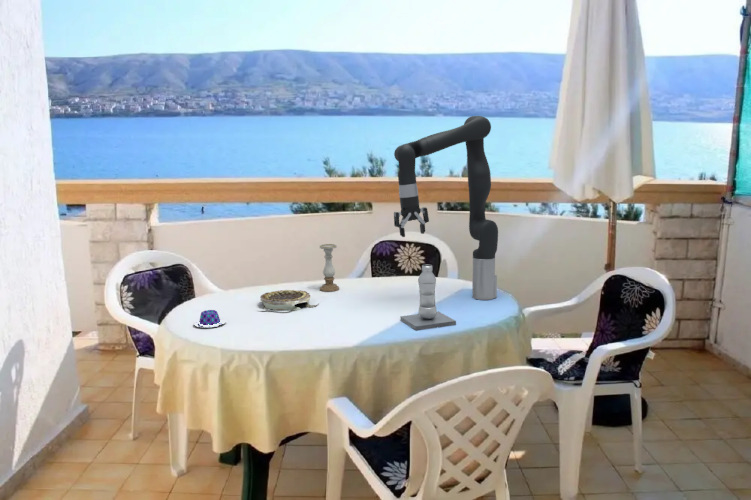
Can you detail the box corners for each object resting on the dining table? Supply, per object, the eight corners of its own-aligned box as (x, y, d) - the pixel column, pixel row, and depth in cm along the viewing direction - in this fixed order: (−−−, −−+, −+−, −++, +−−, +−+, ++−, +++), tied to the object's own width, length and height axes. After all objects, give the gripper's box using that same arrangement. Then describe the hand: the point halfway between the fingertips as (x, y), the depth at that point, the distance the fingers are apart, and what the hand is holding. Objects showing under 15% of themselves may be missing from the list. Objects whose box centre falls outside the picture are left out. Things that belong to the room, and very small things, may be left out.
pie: (239, 310, 263) (238, 298, 262) (274, 295, 288) (273, 284, 287) (300, 316, 252) (299, 304, 251) (330, 300, 277) (330, 289, 276)
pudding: (188, 324, 244) (187, 311, 243) (217, 318, 251) (217, 305, 250) (201, 332, 234) (200, 318, 234) (231, 325, 242) (230, 311, 241)
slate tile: (438, 315, 249) (438, 311, 248) (456, 324, 236) (456, 320, 235) (400, 320, 243) (400, 316, 243) (415, 330, 230) (415, 326, 230)
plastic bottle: (435, 321, 236) (435, 267, 232) (417, 320, 237) (416, 267, 233) (437, 316, 242) (437, 263, 238) (419, 315, 243) (419, 263, 240)
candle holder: (343, 288, 294) (341, 244, 290) (331, 292, 287) (330, 247, 283) (327, 286, 299) (326, 243, 295) (315, 290, 292) (314, 246, 288)
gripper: (396, 198, 253) (400, 239, 256) (429, 193, 257) (432, 233, 260) (388, 197, 260) (393, 237, 263) (421, 192, 264) (425, 231, 267)
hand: (413, 235), depth 261 cm, fingers open, 8 cm apart
